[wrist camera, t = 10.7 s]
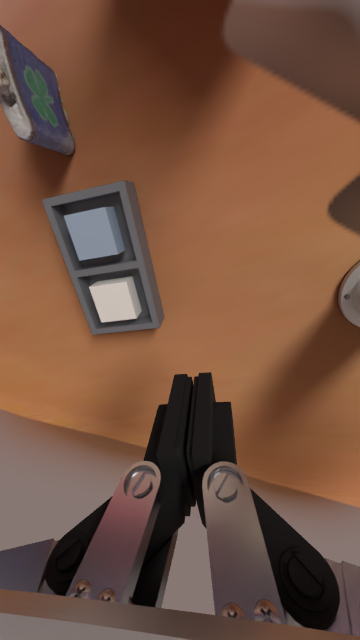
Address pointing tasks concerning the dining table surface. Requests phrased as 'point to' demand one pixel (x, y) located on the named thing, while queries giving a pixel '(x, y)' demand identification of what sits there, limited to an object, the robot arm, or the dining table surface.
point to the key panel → (113, 266)
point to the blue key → (95, 233)
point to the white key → (116, 299)
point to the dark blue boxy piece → (32, 97)
